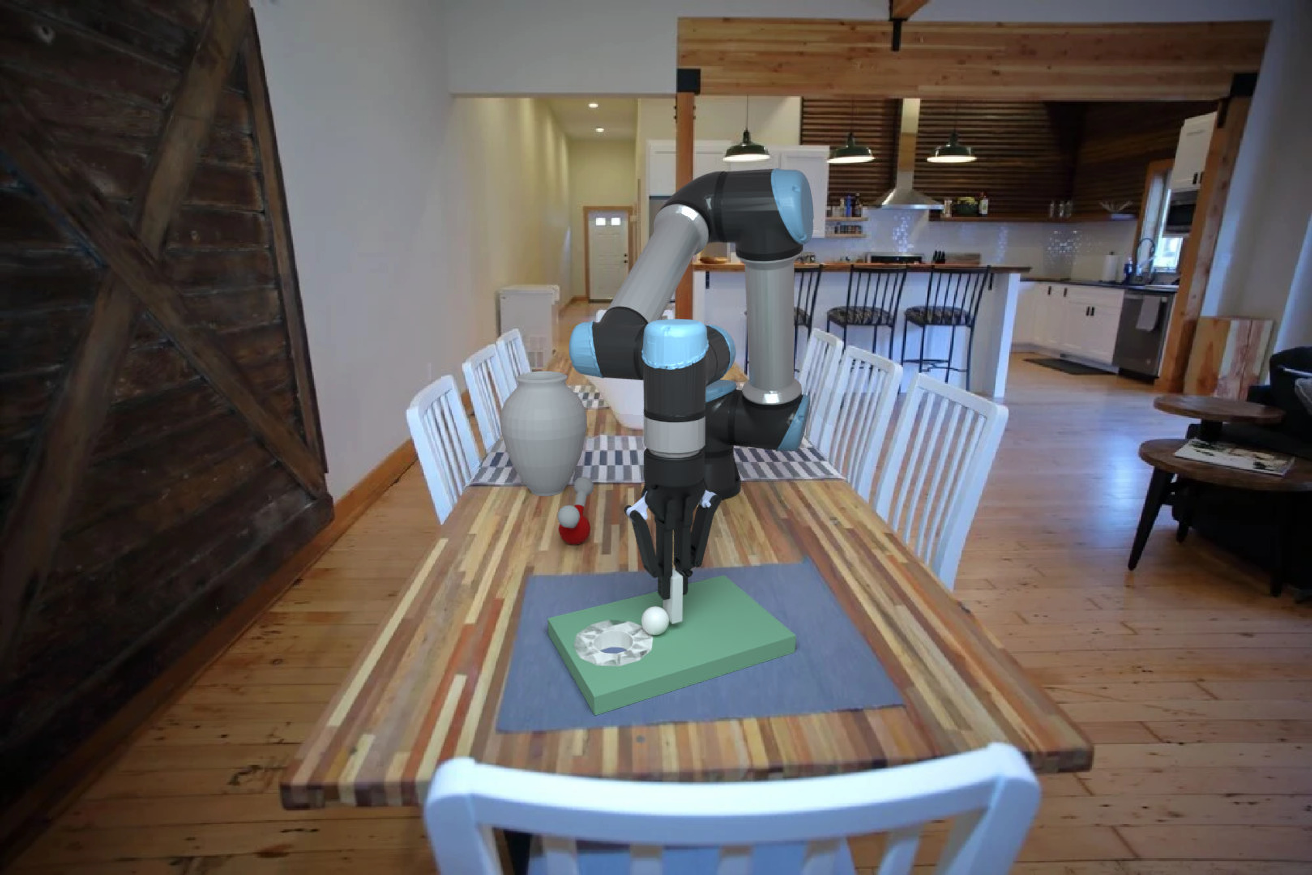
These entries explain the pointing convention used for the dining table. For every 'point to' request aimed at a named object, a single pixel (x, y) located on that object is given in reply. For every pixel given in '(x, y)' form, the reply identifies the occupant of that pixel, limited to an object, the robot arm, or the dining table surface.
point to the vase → (544, 431)
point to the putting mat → (666, 643)
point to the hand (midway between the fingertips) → (672, 617)
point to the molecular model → (576, 514)
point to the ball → (655, 620)
